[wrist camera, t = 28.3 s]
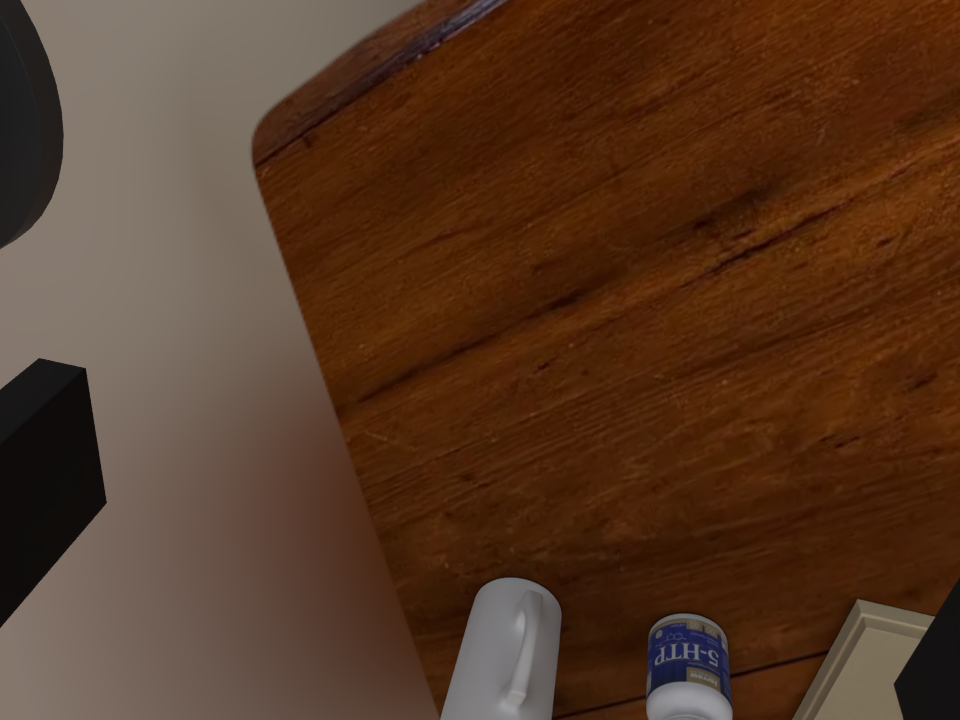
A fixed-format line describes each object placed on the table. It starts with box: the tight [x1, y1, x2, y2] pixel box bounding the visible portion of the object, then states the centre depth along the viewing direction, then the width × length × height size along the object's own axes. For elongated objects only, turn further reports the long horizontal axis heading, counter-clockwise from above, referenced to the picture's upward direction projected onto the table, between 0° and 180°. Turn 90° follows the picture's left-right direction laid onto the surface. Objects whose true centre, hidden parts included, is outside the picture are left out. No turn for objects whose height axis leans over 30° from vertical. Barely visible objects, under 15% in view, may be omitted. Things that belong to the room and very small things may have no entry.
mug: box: [440, 578, 562, 720], centre depth 53 cm, size 10×7×12 cm, turn 163°
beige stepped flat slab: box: [792, 599, 935, 720], centre depth 55 cm, size 8×14×2 cm, turn 173°
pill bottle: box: [646, 613, 732, 720], centre depth 53 cm, size 5×5×9 cm
